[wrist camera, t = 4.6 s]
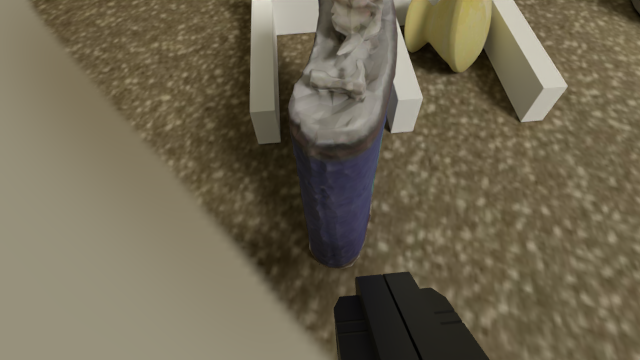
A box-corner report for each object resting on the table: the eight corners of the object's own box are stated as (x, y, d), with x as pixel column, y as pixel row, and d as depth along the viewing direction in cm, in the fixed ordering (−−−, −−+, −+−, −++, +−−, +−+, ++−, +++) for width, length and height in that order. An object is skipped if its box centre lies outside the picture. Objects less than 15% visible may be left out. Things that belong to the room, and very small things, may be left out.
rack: (481, 8, 25) (505, -53, 22) (542, 120, 20) (586, 61, 16) (258, 25, 25) (247, -35, 21) (258, 144, 19) (243, 89, 16)
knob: (486, 43, 23) (522, -37, 19) (459, 93, 21) (493, 16, 17) (418, 21, 25) (437, -58, 20) (386, 67, 22) (400, -12, 18)
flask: (322, 111, 20) (318, -121, 11) (374, 114, 20) (412, -119, 11) (302, 269, 16) (267, 89, 7) (370, 275, 16) (430, 99, 6)
